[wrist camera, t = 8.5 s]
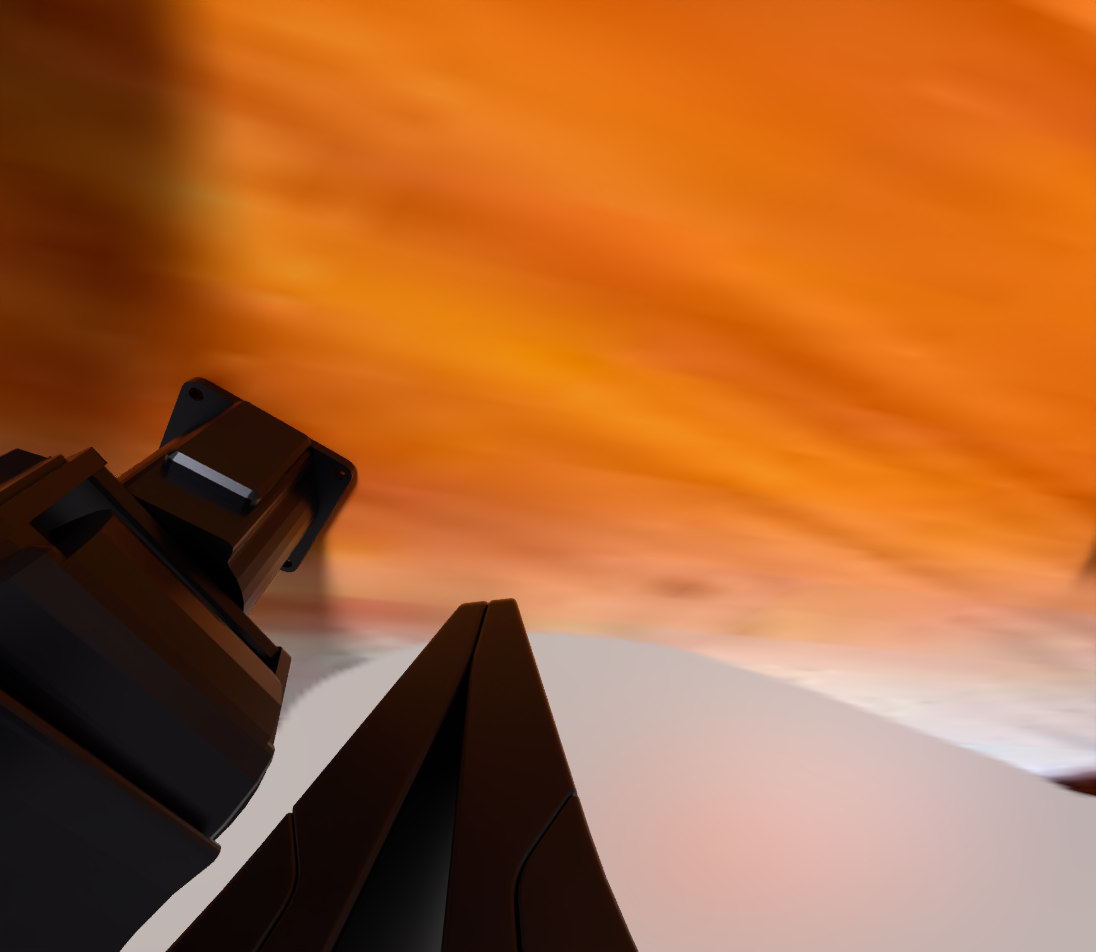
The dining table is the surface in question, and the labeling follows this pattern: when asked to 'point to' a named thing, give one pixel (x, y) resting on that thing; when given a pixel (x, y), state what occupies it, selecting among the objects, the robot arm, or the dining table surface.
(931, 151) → the dining table surface
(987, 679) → the dining table surface
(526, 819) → the robot arm
